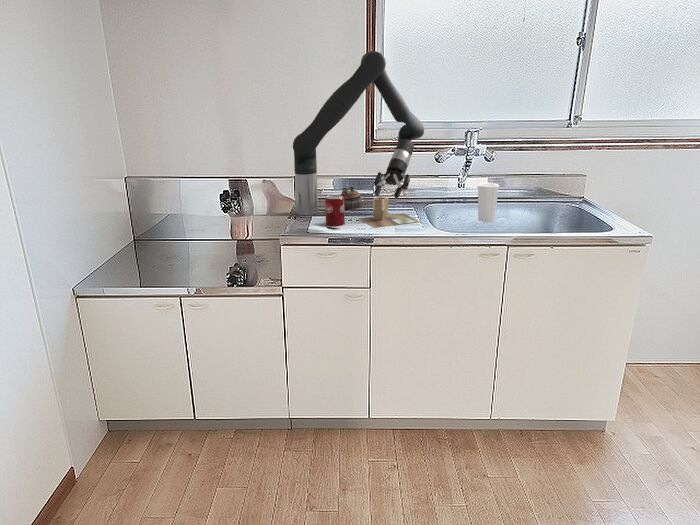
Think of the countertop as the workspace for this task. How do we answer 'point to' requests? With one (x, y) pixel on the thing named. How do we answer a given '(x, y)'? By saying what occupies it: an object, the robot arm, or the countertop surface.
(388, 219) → the post stand
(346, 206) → the cupcake
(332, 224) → the soda can
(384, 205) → the wooden collar
